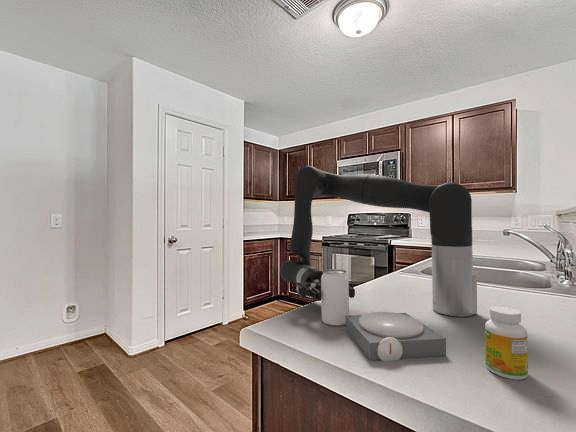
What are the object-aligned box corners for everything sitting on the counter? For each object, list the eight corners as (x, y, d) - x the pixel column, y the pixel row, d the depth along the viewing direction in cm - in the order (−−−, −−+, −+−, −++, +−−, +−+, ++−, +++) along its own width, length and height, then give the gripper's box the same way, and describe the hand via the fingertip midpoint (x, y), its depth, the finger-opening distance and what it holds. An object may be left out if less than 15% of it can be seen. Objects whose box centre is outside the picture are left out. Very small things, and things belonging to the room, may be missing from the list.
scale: (405, 328, 65) (405, 309, 65) (448, 360, 50) (447, 335, 50) (345, 332, 63) (345, 312, 64) (371, 365, 49) (371, 339, 49)
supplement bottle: (477, 363, 48) (476, 305, 48) (507, 361, 49) (506, 304, 49) (504, 381, 43) (503, 316, 43) (537, 379, 43) (536, 314, 43)
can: (349, 327, 65) (348, 274, 65) (320, 325, 66) (319, 273, 66) (349, 317, 71) (348, 269, 71) (322, 316, 72) (322, 268, 72)
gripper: (288, 269, 81) (307, 281, 66) (334, 266, 85) (363, 277, 69) (289, 296, 81) (308, 314, 66) (335, 292, 85) (363, 308, 69)
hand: (336, 295), depth 67 cm, fingers open, 8 cm apart
